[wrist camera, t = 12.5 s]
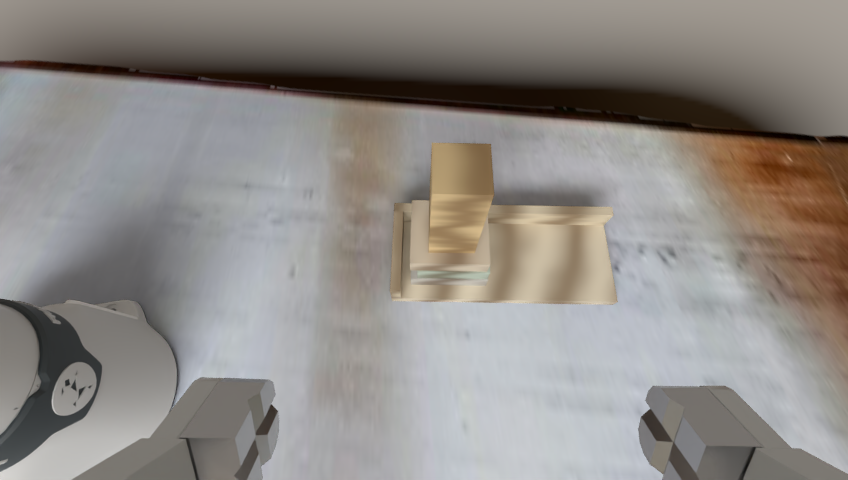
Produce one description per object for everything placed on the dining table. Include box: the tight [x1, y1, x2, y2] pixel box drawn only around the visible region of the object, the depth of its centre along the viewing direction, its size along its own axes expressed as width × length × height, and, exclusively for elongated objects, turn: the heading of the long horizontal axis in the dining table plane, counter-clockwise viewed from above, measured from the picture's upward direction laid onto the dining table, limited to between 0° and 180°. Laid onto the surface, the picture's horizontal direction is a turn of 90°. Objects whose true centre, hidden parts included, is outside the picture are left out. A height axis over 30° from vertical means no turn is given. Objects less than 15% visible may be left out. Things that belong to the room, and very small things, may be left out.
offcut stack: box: [410, 200, 490, 286], centre depth 42 cm, size 8×7×6 cm
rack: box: [390, 203, 618, 305], centre depth 44 cm, size 24×10×4 cm, turn 89°
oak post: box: [428, 143, 494, 253], centre depth 34 cm, size 4×4×11 cm
